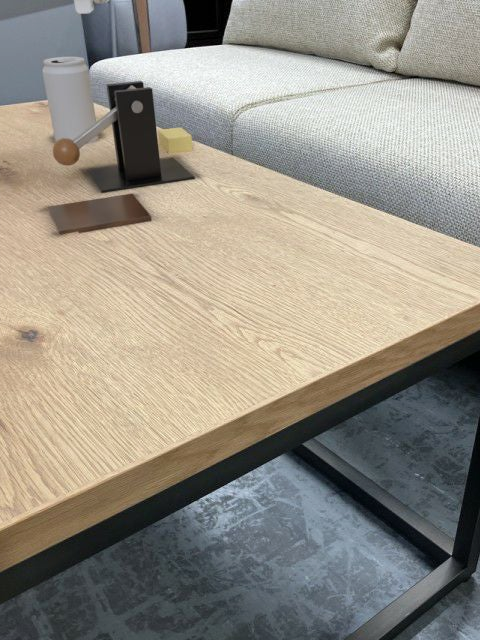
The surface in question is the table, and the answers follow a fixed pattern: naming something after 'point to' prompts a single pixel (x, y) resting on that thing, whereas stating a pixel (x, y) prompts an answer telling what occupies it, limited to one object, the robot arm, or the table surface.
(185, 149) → the butter
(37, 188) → the table surface
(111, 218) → the board
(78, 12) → the robot arm
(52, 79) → the beverage can
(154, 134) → the black lever stand
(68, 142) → the arm
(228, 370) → the table surface
